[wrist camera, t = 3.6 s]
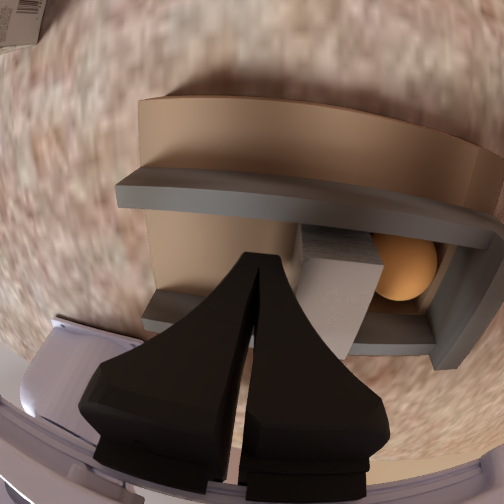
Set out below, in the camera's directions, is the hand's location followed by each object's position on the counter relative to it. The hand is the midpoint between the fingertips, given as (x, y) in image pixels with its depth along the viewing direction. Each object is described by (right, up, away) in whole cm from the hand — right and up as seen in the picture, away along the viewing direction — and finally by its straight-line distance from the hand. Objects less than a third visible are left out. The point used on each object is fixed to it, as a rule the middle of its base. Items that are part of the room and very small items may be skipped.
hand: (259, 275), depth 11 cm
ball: (+6, 0, +1) cm, 7 cm away
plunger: (+2, 0, +1) cm, 3 cm away
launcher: (+3, +2, +3) cm, 5 cm away
